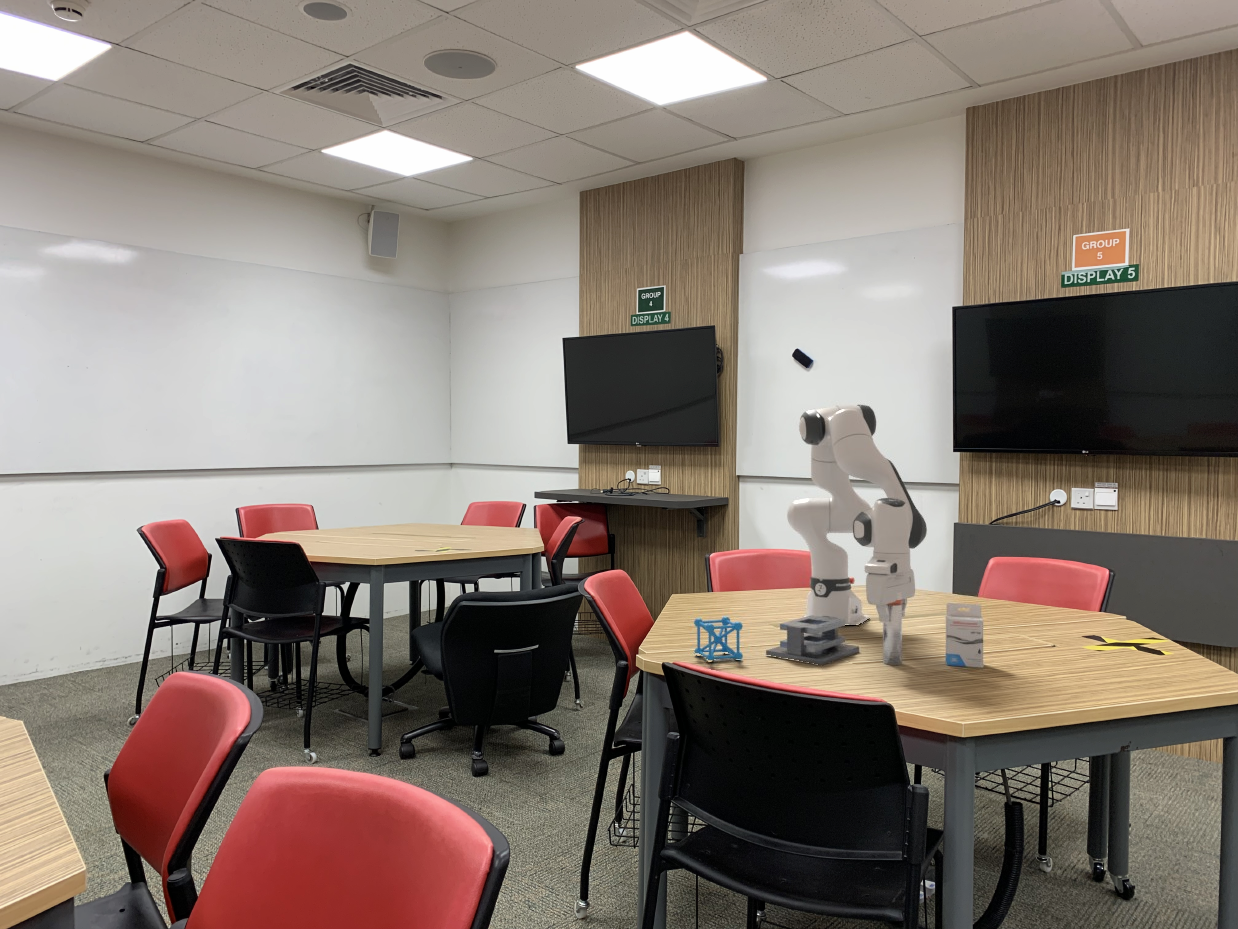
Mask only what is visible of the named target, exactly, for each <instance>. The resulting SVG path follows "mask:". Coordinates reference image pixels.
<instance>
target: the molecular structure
mask: <svg viewBox="0 0 1238 929" xmlns="http://www.w3.org/2000/svg"><path fill="white" fill-rule="evenodd" d="M718 623H719V624H720V623H721V624H722V625H714V624H718ZM693 624H694V626H695V627H696V634H697V635H696V640H697V641H696V642H697V643H696V645H697V647H696V648H695V649H694V651H693V652H695V653H699V654H701V655H703V656H702V657H704V656H705V657H706V658H705V657H704V658H705V660H706V659H708V660H714V659H716V660H727V658H729V659H734V658H735V659H743V657H744V656H743V653H742V652H741V651H740V648H741V647H740V631H741V630H742V629H743V624H742V622H740V621H735V622H733V621H731V619H730V617H729V616H723V617H721V619H712V620H702V618H700V617H697V618H695V619H694V622H693ZM701 628H702V629H703V630H704V631H706V632H707V633H708V644H706V645H705V646H703V647H701ZM715 630H719V633H718V634H716V632H715ZM734 631H735V632H736V650H734V649H732V648H731V647H730V646H729V645H728V635H729V634H731V633H732V632H734ZM723 632H724V633H723ZM712 638H713V640H712ZM718 645H720V646H721V648H718ZM703 652H709V653H703ZM722 652H728V653H729V654H730V655H729V654H728V655H722V656H721V655H717V656H715V655H714V654H715V653H722ZM695 653H694V654H695ZM735 659H734V660H735ZM714 661H715V660H714Z"/></svg>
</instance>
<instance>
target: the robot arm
mask: <svg viewBox="0 0 1238 929" xmlns="http://www.w3.org/2000/svg"><path fill="white" fill-rule="evenodd" d="M798 429H799V434H800V436H801V439H802V441H803V442H804V443H805V444H807V445H810V446H811V448H810V449H811V450H810V478H811V481H812V483H813V484H814V485H815V486H816V487H817V488H819V489H821V490H823V491H826V492H827V493H829V495H831V496H830V497H804V498H801V499H795V500H793V501H792V502H791V503H790V504H789V506H788V508H787V514H786V516H787V517H786V518H787V521H788V524H789V526H790V527H791V528H792V530H794V531H795V532H796V533H798V534H799V536H800V537H802V539H803V540H804V541H805V543H806V545H807V546H808V550H809V554H810V561H811V562H810V564H811V576H810V580H809V588H810V589H811V590H810V591H809V592H808V593H807V595H806V597H807V598H806V608H805V615H803V616H804V617H807V616H811V615H813V616H821V617H822V616H829V617H837V618H838V619H844V620H845V624H849V625H856V624H859V623H862V622H863V621H865V620H867V619H868V618H869V617H870V618H871V616H870V615H868V614H863V604H862V600H861V599H860V598H859V597H858V596H857V595H856V594H855V592H854V591H853V590H852V585H853V584H855V577H849V557H848V556H849V555H848V552H847V550H846V549H844V548H843V547H842V546H840V545H838V544H836V543H834V542H832V541H831V540H829V539H828V537H827V535H828V534H852V536H853V538H854V540H855V541H856V542H857V543H858V545H860V546H862V547H865V548H873V549H872V550H873V552H872V556H871V557H870V559H869V560H868V561H867V562H866V563H865V565H864V573H866V574H867V575H866V578H865V593H866V600H867V603H868V604H869V605H870V606H871V605H873V606H875V609H876V611H877V614H878V621H879V622H880V623H883V622H887V621H888V615H887V613H886V608H887V604H888V603H892V602H896V600H897V592H900V591H902V618H903V617H905V616H906V607H907V604H908V599H910V598H914V597H915V594H916V582H915V581H916V580H915V573H914V570H913V569H912V568H911V567H912V566H911V549H915V548H917V547H918V546H919V545H920V544H921V543H923V542H924V540H925V538H926V536H927V534H928V533H927V531H928V529H927V523H926V521H925V519H924V516H923V515H922V514H921V512H920V511H919V510H918V509H917V507H916V505H915V503H914V502H913V500H912V498H911V495H910V493H909V491H908V490H907V487H906V486H905V484H904V481H903V479H902V478H901V476H900V474H899V472H898V470H897V468H896V466H895V465H894V463H893V462H892V461H891V460H889V459H888V458H887V457H886V456H885V455H883V454H882V453H881V451H880V450H879V449H878V447H877V446H876V444H875V442H874V438H873V436H874V435H875V433H876V429H877V416H876V414H875V411H874V410H873V408H872V407H871V406H870V405H865V404H857V405H849V404H848V405H847V404H845V405H841V404H840V405H835V406H829V407H824V408H823V407H821V408H818V409H816V408H813V409H809V410H806V411H804V412H803V413H802V415H801V416H800V418H799V424H798ZM850 477H853V478H856V479H860V480H864V481H867V482H870V483H872V484H874V485H876V486H878V487H879V488H881V489H882V491H883V492H884V494H885V495H886V497H884V498H878V499H877V500H876V501H874V503H873V504H874V505H873V506H872V507H871V506H870V504H869V502H868V501H866V500H865V499H864V498H862V497H861V496H860V495H859V494H858V493H857V492H856V491H855V489H854V488H853V486H852V484H851V479H850ZM867 621H868V620H867ZM862 624H863V623H862Z"/></svg>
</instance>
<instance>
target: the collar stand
mask: <svg viewBox="0 0 1238 929" xmlns="http://www.w3.org/2000/svg"><path fill="white" fill-rule="evenodd" d="M841 627H846V626H845V620H844V619H838V618H837V617H829V616H822V617H821V616H813V615H811V616H807V617H803V616H802V617H801V618H800V617H799V618H797V619H793V620H789V621H786V622H782V623H780V624H779V630H780V631H786V639H782V640H780V641H779V646H776V647H772V648H770V649H766V650H765V656H766V655H771V656H776V657H781V658H788V659H794V660H799V661H803V662H809V663H814V664H818V665H817V666H820V665H822V666H825V665H827V664H826V663H828V664H830V663H829V662H831V663H832V661H833V662H836V661H839V660H841V658H842V659H844V658H847V657H849V656H853V655H855V654H858V653H860V646H858V645H853V644H845V643H846V636H843V635H838V631H839V630H838V629H839V628H841ZM814 664H813V665H814ZM824 664H825V665H824Z"/></svg>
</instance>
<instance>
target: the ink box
mask: <svg viewBox="0 0 1238 929" xmlns="http://www.w3.org/2000/svg"><path fill="white" fill-rule="evenodd" d="M963 608H964V609H969V610H959V609H963ZM945 663H946V666H951V667H952V666H953V667H967V668H980V669H982V668H984V619H983V617H982V605H981V604H977V603H976V604H974V603H957V602H956V603H954V602H948V603H946V615H945Z"/></svg>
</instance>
